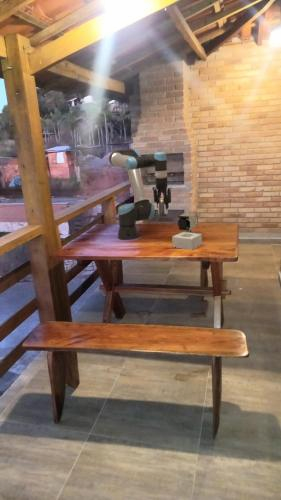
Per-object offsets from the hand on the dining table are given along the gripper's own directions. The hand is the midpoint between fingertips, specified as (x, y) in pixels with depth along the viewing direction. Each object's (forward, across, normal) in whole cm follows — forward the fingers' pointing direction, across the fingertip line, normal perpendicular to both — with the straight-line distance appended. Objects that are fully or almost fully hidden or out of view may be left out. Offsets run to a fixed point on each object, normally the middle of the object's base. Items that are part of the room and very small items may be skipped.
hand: (163, 213), depth 249 cm
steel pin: (+2, 0, 0) cm, 2 cm away
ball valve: (+20, +7, +20) cm, 29 cm away
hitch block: (+20, +17, +1) cm, 27 cm away
